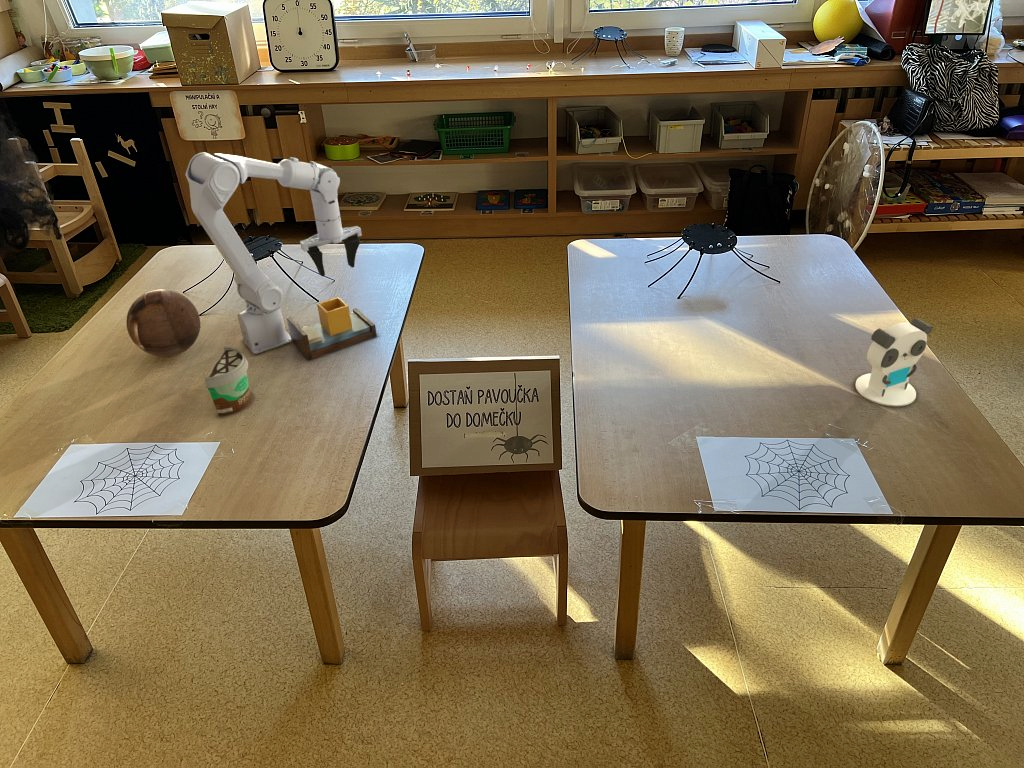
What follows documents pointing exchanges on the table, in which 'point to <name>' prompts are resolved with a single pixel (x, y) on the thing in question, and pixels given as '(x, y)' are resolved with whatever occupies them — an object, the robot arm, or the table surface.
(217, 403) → the food container
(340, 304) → the small bin
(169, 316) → the wooden sphere
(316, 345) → the toy bed
